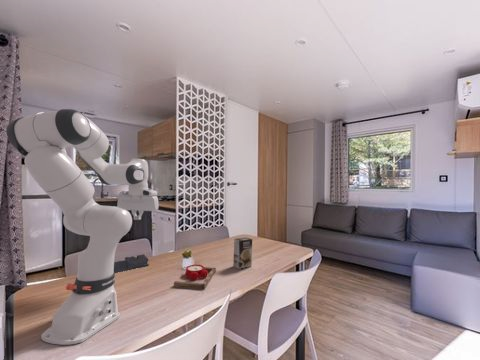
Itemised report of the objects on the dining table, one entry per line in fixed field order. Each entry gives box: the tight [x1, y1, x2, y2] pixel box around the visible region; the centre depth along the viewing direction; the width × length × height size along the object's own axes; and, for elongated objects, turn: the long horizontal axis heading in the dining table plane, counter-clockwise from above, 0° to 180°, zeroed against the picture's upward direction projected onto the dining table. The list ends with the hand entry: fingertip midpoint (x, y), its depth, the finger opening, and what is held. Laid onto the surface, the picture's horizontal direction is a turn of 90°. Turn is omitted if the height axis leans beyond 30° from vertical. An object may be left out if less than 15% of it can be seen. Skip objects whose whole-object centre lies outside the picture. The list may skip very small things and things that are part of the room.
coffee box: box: [232, 236, 253, 270], centre depth 137 cm, size 9×6×16 cm
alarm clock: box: [184, 264, 209, 281], centre depth 121 cm, size 10×6×15 cm
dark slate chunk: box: [114, 253, 150, 274], centre depth 133 cm, size 15×22×5 cm
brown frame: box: [173, 266, 217, 290], centre depth 118 cm, size 22×14×2 cm, turn 173°
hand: (137, 219), depth 116 cm, fingers closed
